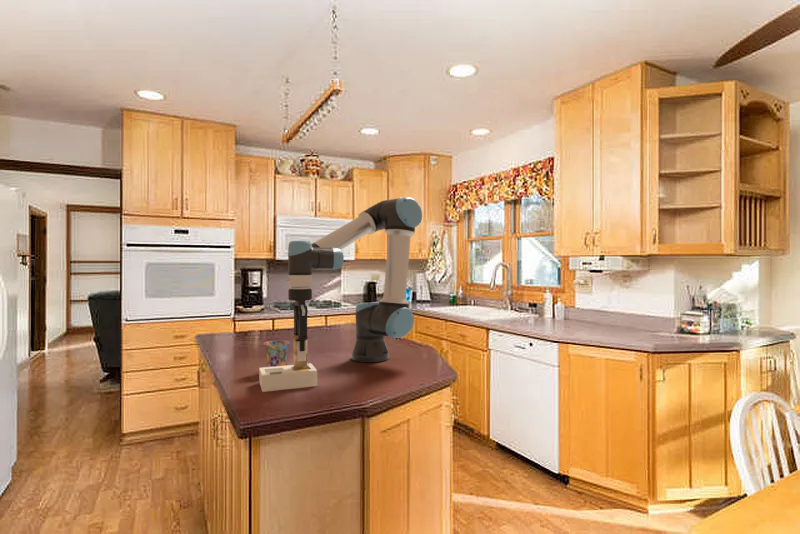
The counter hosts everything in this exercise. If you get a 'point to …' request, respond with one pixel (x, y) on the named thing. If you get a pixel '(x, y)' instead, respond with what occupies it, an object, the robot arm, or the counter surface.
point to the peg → (297, 364)
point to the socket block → (286, 377)
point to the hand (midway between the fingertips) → (300, 359)
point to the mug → (276, 353)
